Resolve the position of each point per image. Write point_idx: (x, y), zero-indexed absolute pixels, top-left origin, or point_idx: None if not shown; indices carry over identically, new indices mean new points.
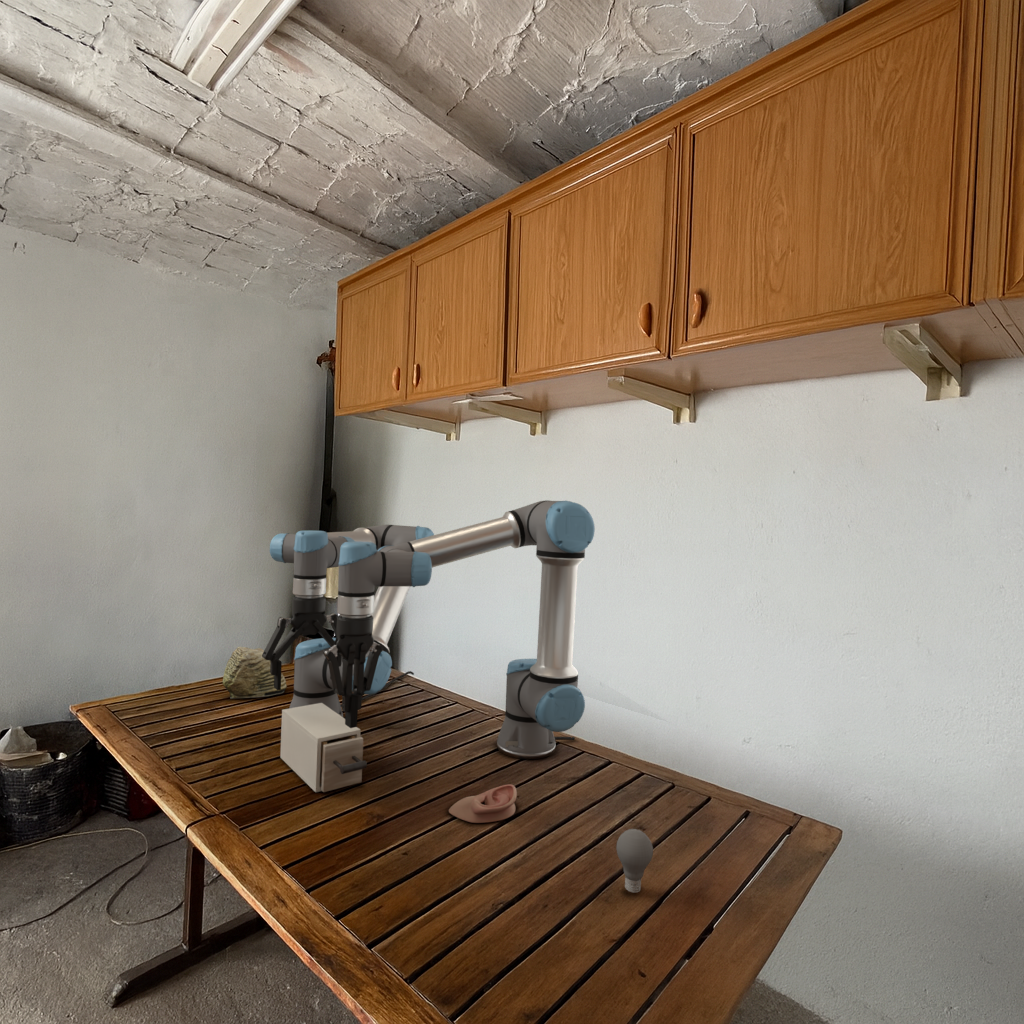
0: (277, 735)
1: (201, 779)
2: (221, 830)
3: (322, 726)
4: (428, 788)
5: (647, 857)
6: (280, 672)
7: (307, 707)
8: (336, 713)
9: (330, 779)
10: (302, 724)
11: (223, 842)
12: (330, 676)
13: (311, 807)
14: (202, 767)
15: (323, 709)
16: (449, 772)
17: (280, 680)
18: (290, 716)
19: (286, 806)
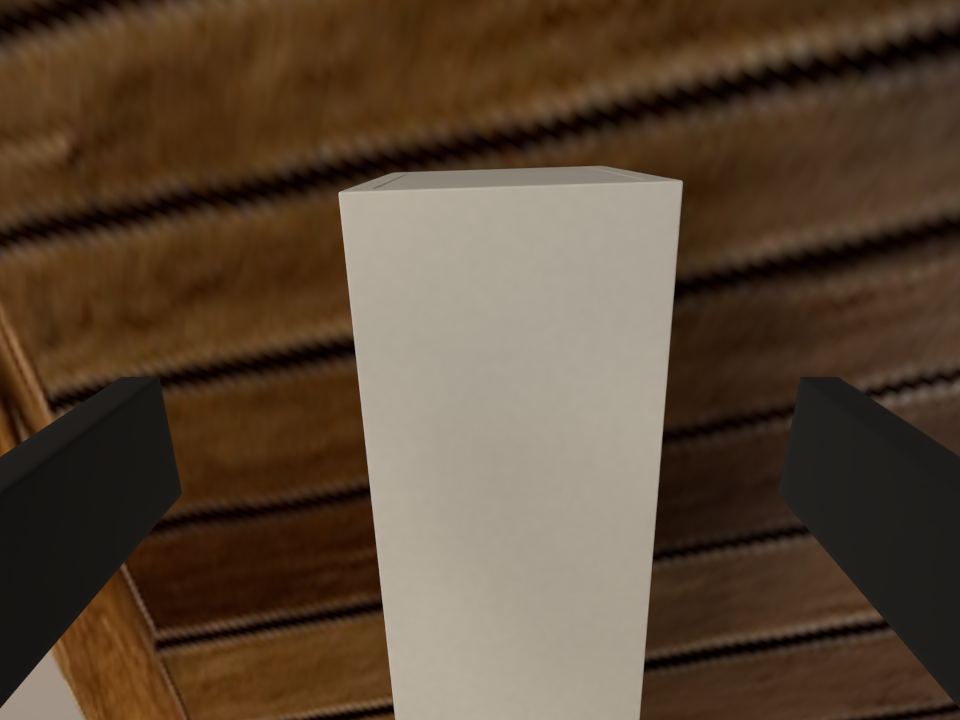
0: None
1: (26, 229)
2: (104, 628)
3: (480, 616)
4: (752, 691)
5: None
6: (46, 638)
7: (532, 243)
8: (654, 462)
9: None
10: (387, 540)
11: (108, 682)
12: (817, 391)
13: (377, 630)
14: (23, 85)
15: (617, 347)
16: (893, 637)
17: (119, 557)
18: (358, 370)
19: (308, 591)
